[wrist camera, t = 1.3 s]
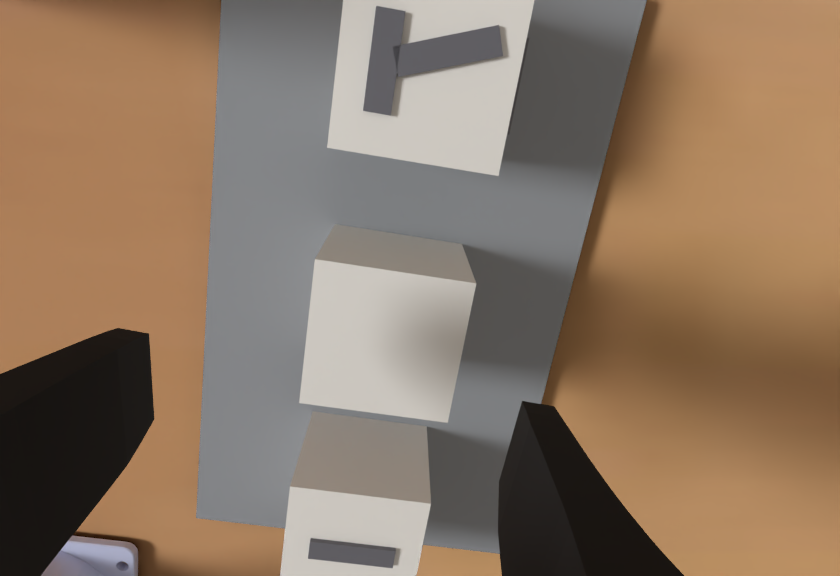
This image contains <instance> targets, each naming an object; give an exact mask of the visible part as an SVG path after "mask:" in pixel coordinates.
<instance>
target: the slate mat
mask: <svg viewBox="0 0 840 576" xmlns="http://www.w3.org/2000/svg"><path fill="white" fill-rule="evenodd" d="M646 1H647V0H534V5H533V10H532V15H531V20H530V25H529V30H528V35H527V38H529V42H528V47H527V52H526V56H525V61H524V66H523V71H522V76H521V81H520V85H519V90H518V95H517V100H516V105H515V110H514V114H513V119H512V124H511V129H510V134H509V135H507V137H506V142H505V146H504V151H503V156H502V161H501V166H500V171H499V176H495V175H489V174H483V173H477V172H471V171H465V170H459V169H453V168H447V167H441V166H435V165H428V164H422V163H416V162H410V161H404V160H398V159H392V158H386V157H380V156H374V155H368V154H362V153H356V152H350V151H344V150H338V149H332V148H327V144H328V135H329V125H330V116H331V107H332V98H333V89H334V80H335V71H336V62H337V52H338V43H339V34H340V25H341V16H342V7H343V0H221V18H220V39H219V59H218V80H217V100H216V121H215V142H214V162H213V183H212V204H211V224H210V245H209V265H208V286H207V307H206V327H205V348H204V368H203V389H202V410H201V430H200V451H199V471H198V492H197V513H196V518H201V519H209V520H218V521H226V522H235V523H243V524H252V525H260V526H269V527H277V528H285V527H286V518H287V509H288V499H289V490H290V485H291V481H292V478H293V475H294V471H295V468H296V465H297V462H298V458H299V455H300V452H301V448H302V445H303V442H304V439H305V435H306V432H307V429H308V425H309V422H310V419H311V415H312V412H313V411H314V412H322V413H329V414H337V415H344V416H352V417H359V418H367V419H375V420H382V421H390V422H397V423H405V424H412V425H420V426H427V440H428V458H429V476H430V494H431V506H430V511H429V516H428V521H427V526H426V531H425V537H424V542H423V545H430V546H439V547H447V548H456V549H464V550H473V551H481V552H490V553H498V554H500V549H499V538H498V499H499V480H500V476H501V473H502V469H503V466H504V462H505V459H506V455H507V452H508V448H509V445H510V441H511V438H512V434H513V431H514V427H515V424H516V420H517V417H518V413H519V410H520V406H521V403H522V401H526V402H532V403H537V404H541V402H542V398H543V394H544V390H545V387H546V383H547V379H548V375H549V371H550V367H551V364H552V360H553V356H554V352H555V348H556V345H557V341H558V337H559V333H560V329H561V325H562V322H563V318H564V314H565V310H566V306H567V303H568V299H569V295H570V291H571V287H572V283H573V280H574V276H575V272H576V268H577V264H578V260H579V257H580V253H581V249H582V245H583V241H584V238H585V234H586V230H587V226H588V222H589V218H590V215H591V211H592V207H593V203H594V199H595V196H596V192H597V188H598V184H599V180H600V176H601V173H602V169H603V165H604V161H605V157H606V154H607V150H608V146H609V142H610V138H611V134H612V131H613V127H614V123H615V119H616V115H617V111H618V108H619V104H620V100H621V96H622V92H623V89H624V85H625V81H626V77H627V73H628V69H629V66H630V62H631V58H632V54H633V50H634V47H635V43H636V39H637V35H638V31H639V27H640V24H641V20H642V16H643V12H644V8H645V4H646ZM335 224H337V225H344V226H350V227H356V228H363V229H369V230H376V231H382V232H388V233H395V234H401V235H408V236H414V237H421V238H427V239H433V240H440V241H446V242H453V243H459V244H462V246H463V248H464V251H465V254H466V257H467V259H468V262H469V265H470V268H471V270H472V273H473V276H474V279H475V281H476V288H475V292H474V297H473V302H472V307H471V312H470V317H469V322H468V326H467V331H466V336H465V341H464V346H463V351H462V356H461V361H460V365H459V370H458V375H457V380H456V385H455V390H454V395H453V399H452V404H451V409H450V414H449V419H448V423H445V422H438V421H430V420H423V419H415V418H408V417H400V416H393V415H385V414H378V413H370V412H362V411H355V410H347V409H340V408H332V407H325V406H317V405H310V404H302V403H299V399H300V390H301V381H302V372H303V363H304V353H305V344H306V335H307V326H308V317H309V308H310V299H311V290H312V280H313V271H314V262H315V258H316V256H317V255H318V253H319V251H320V249H321V248H322V246H323V244H324V242H325V241H326V239H327V237H328V235H329V234H330V232H331V230H332V229H333V227H334V225H335Z"/></svg>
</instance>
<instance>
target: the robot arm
mask: <svg viewBox="0 0 840 576" xmlns="http://www.w3.org/2000/svg"><path fill="white" fill-rule="evenodd" d="M153 420H154V408H153V392H152V376H151V360H150V344H149V334H148V333H142V332H137V331H131V330H125V329H120V328H117V329H114V330H110V331H107V332H104V333H102V334H99V335H96V336H94V337H91V338H88V339H86V340H83V341H81V342H78V343H76V344H73V345H71V346H68V347H66V348H63V349H61V350H59V351H56V352H54V353H51V354H49V355H46V356H44V357H41V358H39V359H36V360H34V361H31V362H29V363H27V364H24V365H22V366H19V367H17V368H14V369H12V370H9V371H7V372H4V373H2V374H0V576H138V550H137V548H136V546H135V545H134V544H132V543H130V542H124V541H116V540H107V539H98V538H89V537H80V536H72V535H73V534H74V533H75V531H76V530H77V529H78V528H79V526H80V525H81V524H82V523H83V521H84V520H85V519H86V517H87V516H88V515H89V514H90V512H91V511H92V510H93V509H94V507H95V506H96V505H97V504H98V502H99V501H100V500H101V498H102V497H103V496H104V495H105V493H106V492H107V491H108V489H109V488H110V487H111V486H112V484H113V483H114V482H115V480H116V479H117V478H118V476H119V475H120V474H121V473H122V471H123V470H124V469H125V467H126V466H127V465H128V463H129V461H130V460H131V458H132V456H133V455H134V453H135V452H136V450H137V448H138V447H139V445H140V443H141V442H142V440H143V438H144V436H145V434H146V433H147V431H148V429H149V427H150V426H151V424H152V422H153ZM498 538H499V549H500V559H501V570H502V576H684V575H683V574H682V573H681V572H680V571H679V570H678V569H677V568H676V567H675V565H674V564H673V563H672V562H671V561H670V560H669V559H668V558H667V557H666V556H665V555H664V554H663V552H662V551H661V550H660V549H659V548H658V547H657V546H656V545H655V543H654V542H653V541H652V540H651V539H650V538H649V536H648V535H647V534H646V533H645V532H644V530H643V529H642V528H641V527H640V525H639V524H638V523H637V522H636V520H635V519H634V518H633V517H632V516H631V514H630V513H629V512H628V511H627V509H626V508H625V507H624V506H623V504H622V503H621V502H620V500H619V499H618V498H617V497H616V495H615V494H614V493H613V491H612V490H611V489H610V487H609V486H608V484H607V483H606V482H605V480H604V479H603V478H602V476H601V475H600V473H599V472H598V471H597V469H596V468H595V466H594V465H593V464H592V462H591V461H590V459H589V458H588V456H587V455H586V453H585V452H584V450H583V449H582V447H581V446H580V444H579V443H578V441H577V440H576V438H575V437H574V435H573V434H572V432H571V431H570V429H569V428H568V426H567V425H566V423H565V422H564V420H563V419H562V417H561V416H560V415H559V413H558V412H557V410H556V409H555V407H554V406H548V405H543V404H537V403H532V402H526V401H522V403H521V406H520V410H519V413H518V417H517V420H516V424H515V427H514V431H513V434H512V438H511V441H510V445H509V448H508V452H507V455H506V459H505V462H504V466H503V469H502V473H501V476H500V480H499V499H498ZM122 561H123V562H126V563H127V564H125V563H123V562H122Z"/></svg>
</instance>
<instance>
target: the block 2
mask: <svg viewBox="0 0 840 576" xmlns="http://www.w3.org/2000/svg"><path fill="white" fill-rule="evenodd" d="M430 506H431V494H430V476H429V458H428V440H427V426H420V425H412V424H405V423H397V422H390V421H382V420H375V419H367V418H359V417H352V416H344V415H337V414H329V413H322V412H314V411H313V412H312V415H311V419H310V422H309V425H308V429H307V432H306V435H305V439H304V442H303V445H302V448H301V452H300V455H299V458H298V462H297V465H296V468H295V471H294V475H293V478H292V481H291V485H290V490H289V499H288V509H287V518H286V527H285V536H284V545H283V554H282V563H281V572H280V576H416V575H417V570H418V565H419V560H420V555H421V550H422V547H423V542H424V537H425V531H426V526H427V521H428V516H429V511H430Z"/></svg>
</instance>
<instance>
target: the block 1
mask: <svg viewBox="0 0 840 576" xmlns="http://www.w3.org/2000/svg"><path fill="white" fill-rule="evenodd" d="M533 5H534V0H343V7H342V16H341V25H340V34H339V43H338V52H337V62H336V71H335V80H334V89H333V98H332V107H331V116H330V125H329V135H328V144H327V148H332V149H338V150H344V151H350V152H356V153H362V154H368V155H374V156H380V157H386V158H392V159H398V160H404V161H410V162H416V163H422V164H428V165H435V166H441V167H447V168H453V169H459V170H465V171H471V172H477V173H483V174H489V175H495V176H499V171H500V166H501V161H502V156H503V151H504V146H505V142H506V137H507V135H509V134H510V129H511V124H512V119H513V114H514V110H515V105H516V100H517V95H518V90H519V85H520V81H521V76H522V71H523V66H524V61H525V56H526V52H527V47H528V42H529V38H527V35H528V30H529V25H530V20H531V15H532V10H533Z"/></svg>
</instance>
